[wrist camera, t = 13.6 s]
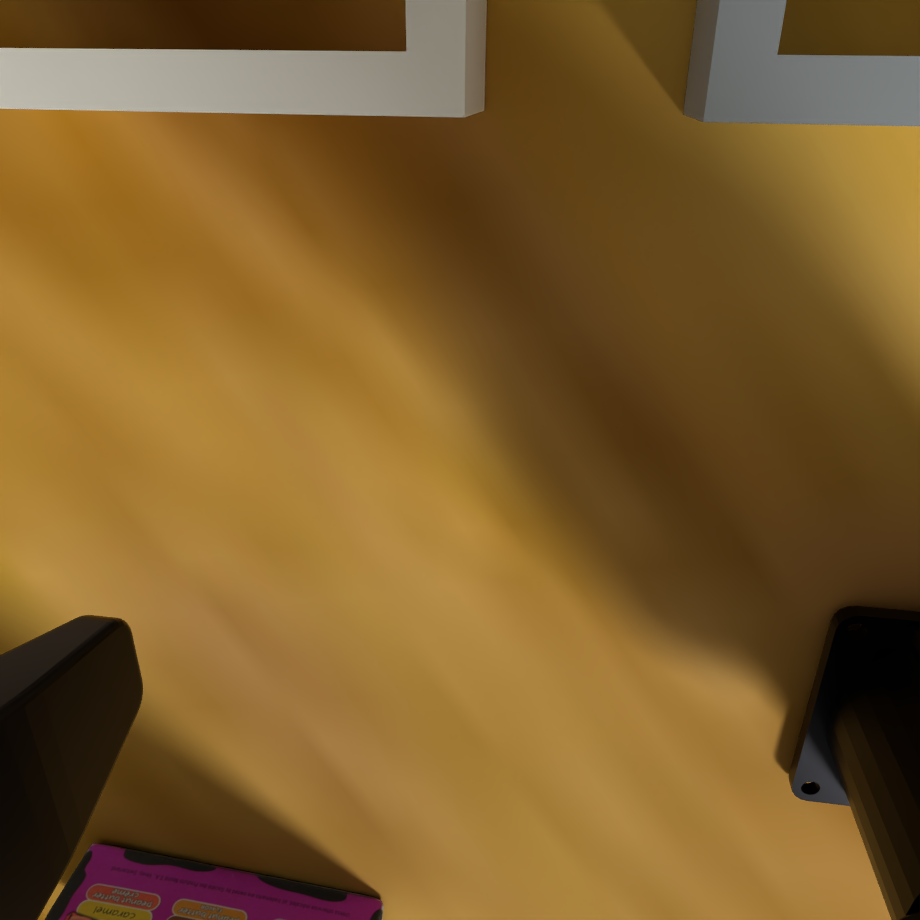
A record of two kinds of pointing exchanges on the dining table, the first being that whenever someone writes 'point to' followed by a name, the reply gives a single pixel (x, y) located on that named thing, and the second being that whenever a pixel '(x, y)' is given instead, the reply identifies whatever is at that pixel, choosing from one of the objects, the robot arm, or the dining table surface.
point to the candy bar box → (194, 892)
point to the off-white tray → (269, 74)
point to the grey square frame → (789, 75)
